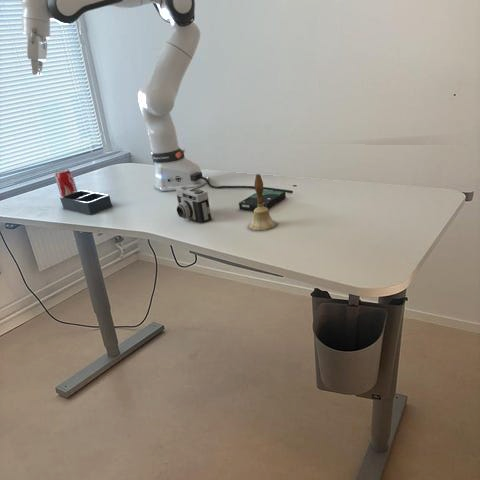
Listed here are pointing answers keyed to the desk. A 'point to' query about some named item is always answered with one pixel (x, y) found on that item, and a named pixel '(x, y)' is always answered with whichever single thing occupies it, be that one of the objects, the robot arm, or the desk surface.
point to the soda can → (65, 182)
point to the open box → (86, 202)
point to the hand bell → (261, 210)
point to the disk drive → (268, 200)
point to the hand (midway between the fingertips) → (37, 74)
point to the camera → (193, 204)
